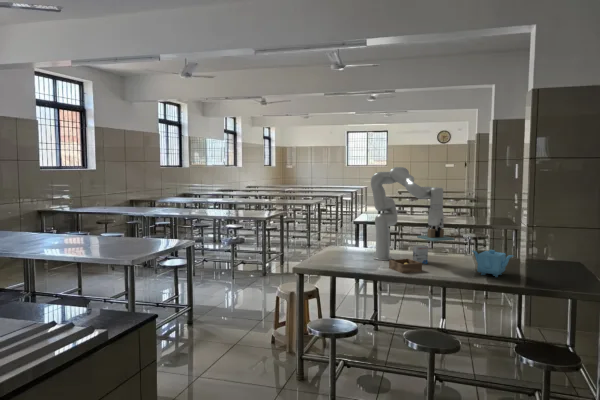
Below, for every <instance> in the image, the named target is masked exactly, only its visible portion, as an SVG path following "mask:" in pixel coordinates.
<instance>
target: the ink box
mask: <svg viewBox="0 0 600 400" xmlns="http://www.w3.org/2000/svg"><path fill="white" fill-rule="evenodd" d="M412 248H413V249H412V260H414V261H417V262H420V263H422V264H424V265H427V264H428V260H429V246H428V245H424V244H423V245H413V246H412Z"/></svg>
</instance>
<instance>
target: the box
mask: <svg viewBox="0 0 600 400" xmlns="http://www.w3.org/2000/svg"><path fill="white" fill-rule="evenodd" d="M404 263H408V264H404ZM388 269H390V270H393V271H395V272H398V273H401V274H409V273H419V272H422V271H423V263H420V262H417V261H414V260H413V259H411V258H400V259H399V258H398V259H391V260H388Z"/></svg>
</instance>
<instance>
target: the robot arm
mask: <svg viewBox="0 0 600 400" xmlns="http://www.w3.org/2000/svg"><path fill="white" fill-rule="evenodd" d="M414 181H415V177H414V176H413V175H412V174H410V172H409V169H408V168H406V167H404V166H403V167H402V166H399V167H398V166H396V167H393V168H391V169H390V170H389V171H378V172H376V173H374V174H373V175H372V176H371V178H370V188H371V191H372V192H371V193H372V197H373V202H374V208H375V210H376V212H382V213H378V214H377V215H376V216H375V218H374V225H375V251H373V254H374V255H373V257H372V258H373V259H374V260H375V261H376V260H377V261H389V260H393V257H392V256H390V252H391V251H390V249H391V248H390V247H391V232H390V227H393V226H395V225H397V223H398V213H397V207H396V206H397V205H396V202H395V200H394V199H393V198H392V197H389V196H387V195H386V190H385V188H384V186H383V185H393V184H396V183H399V184H400V185H402V186H403V187H404V188H405V190H406V191H407V192H408V193H409V194H410V195H412V196H414V198H417V199H418V200H419V199H420V200H423V199H426V200H427V199H430V200H429V201H430V202H429V205H430V206H429V210H428V215H427V224H428V226H429V228H430V229H436V231H435V237H440V231H441V229H444V221H445V220H444V218H445V217H444V209H443V208H444V189H443V188H442V187H437V186H436V187H433V186H420V185H419V184H417V183H416V182H414Z"/></svg>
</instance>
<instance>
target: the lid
mask: <svg viewBox="0 0 600 400" xmlns="http://www.w3.org/2000/svg"><path fill="white" fill-rule="evenodd" d="M435 231H436V229H431V228H429V229H427V234H425V235H417V236H416V238H418V239H423V240H426V241H431V242H441V241H442V242H443V241H455V238H454V237H451V236H445V229H444V228H442V229H441V231H440V237H435Z"/></svg>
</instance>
